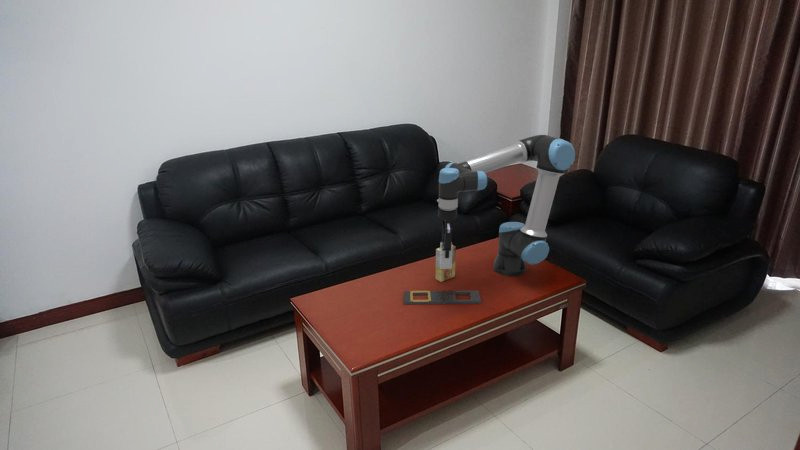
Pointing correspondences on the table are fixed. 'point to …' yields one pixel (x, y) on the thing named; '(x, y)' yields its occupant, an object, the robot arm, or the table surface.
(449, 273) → the candy box
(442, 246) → the steel block
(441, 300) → the rail
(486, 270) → the table surface
